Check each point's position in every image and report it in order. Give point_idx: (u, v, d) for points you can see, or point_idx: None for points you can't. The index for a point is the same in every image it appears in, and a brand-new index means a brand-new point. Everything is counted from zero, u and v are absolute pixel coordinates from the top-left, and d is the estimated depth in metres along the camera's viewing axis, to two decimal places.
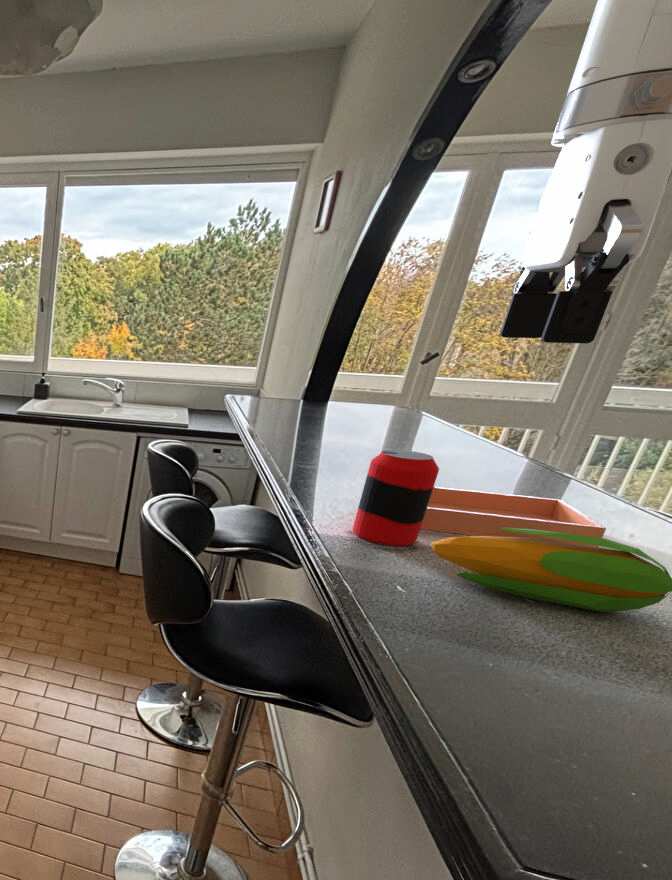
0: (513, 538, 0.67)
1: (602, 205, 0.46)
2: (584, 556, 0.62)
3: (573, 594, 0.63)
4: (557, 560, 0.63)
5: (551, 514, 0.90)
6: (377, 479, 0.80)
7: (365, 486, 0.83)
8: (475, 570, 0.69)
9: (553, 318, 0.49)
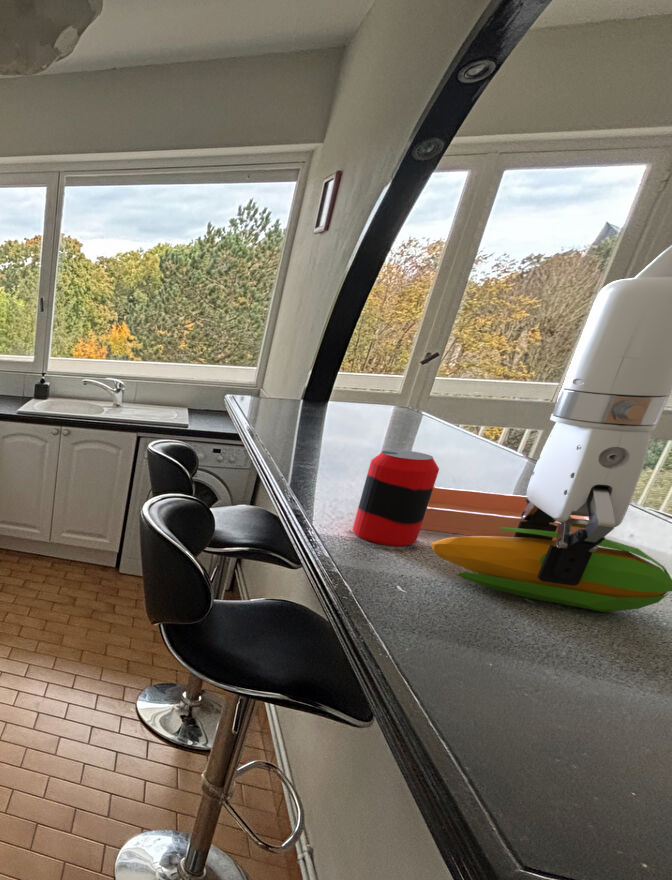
0: (513, 538, 0.68)
1: (590, 487, 0.58)
2: None
3: (572, 594, 0.63)
4: None
5: None
6: (377, 479, 0.80)
7: (365, 486, 0.83)
8: (475, 570, 0.69)
9: (547, 564, 0.62)
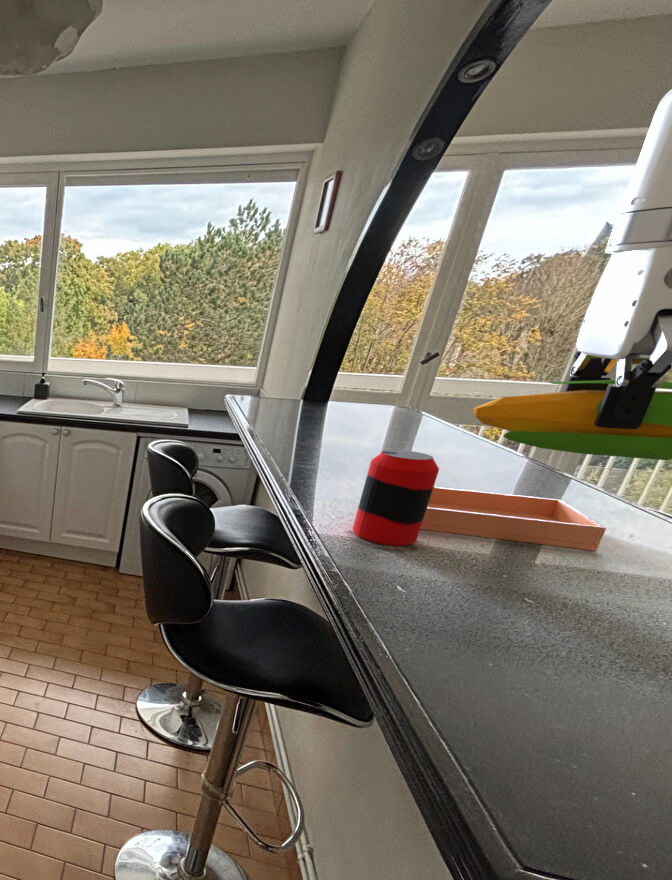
0: (563, 392, 0.63)
1: (654, 313, 0.54)
2: None
3: (632, 440, 0.59)
4: None
5: (551, 514, 0.90)
6: (377, 479, 0.80)
7: (365, 486, 0.83)
8: (522, 430, 0.65)
9: (605, 408, 0.58)
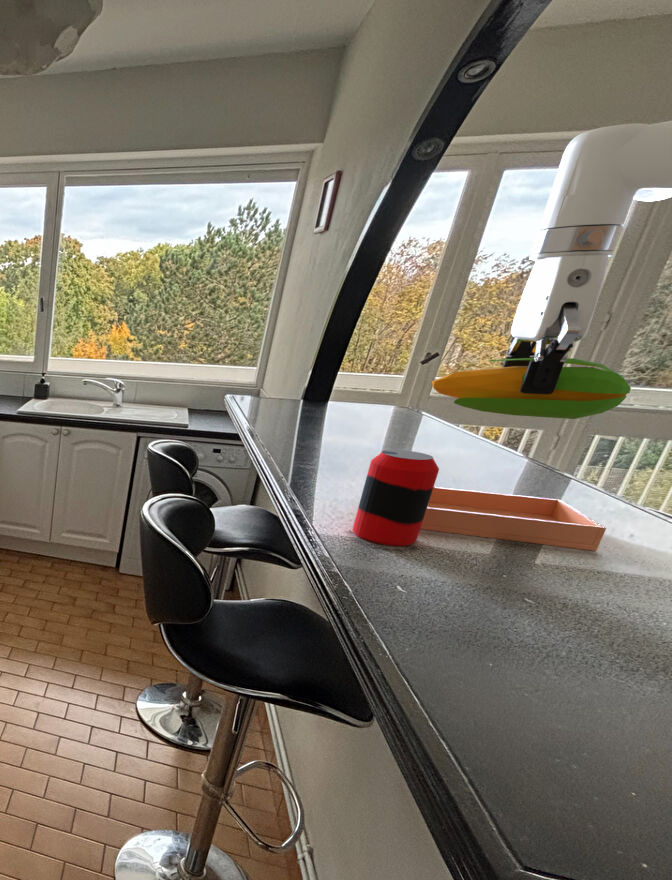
0: None
1: (560, 305, 0.72)
2: None
3: (548, 403, 0.77)
4: None
5: (551, 514, 0.90)
6: (377, 479, 0.80)
7: (365, 486, 0.83)
8: (468, 398, 0.83)
9: (527, 378, 0.76)
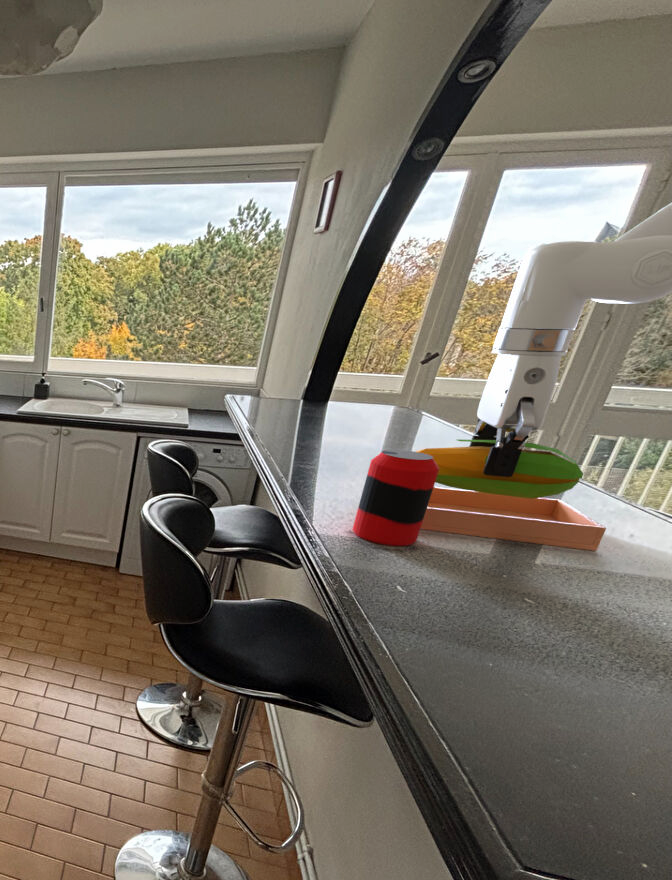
0: (466, 447, 0.88)
1: (518, 399, 0.79)
2: None
3: (508, 484, 0.83)
4: None
5: (551, 514, 0.90)
6: (377, 479, 0.80)
7: (365, 486, 0.83)
8: None
9: (489, 461, 0.83)
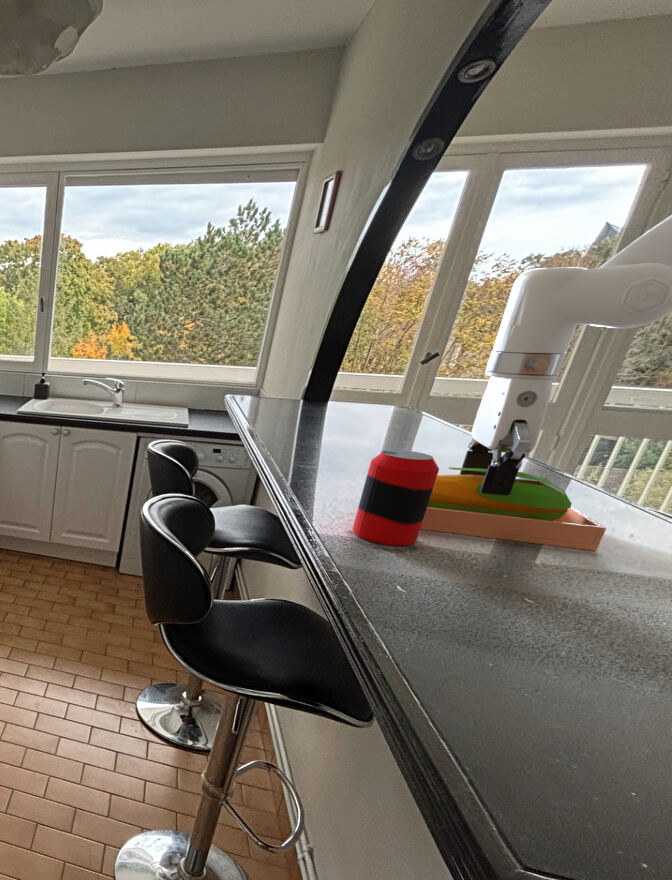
0: (457, 475, 0.90)
1: (511, 422, 0.80)
2: None
3: (499, 513, 0.85)
4: None
5: None
6: (377, 479, 0.80)
7: (365, 486, 0.83)
8: (429, 500, 0.91)
9: (486, 480, 0.83)
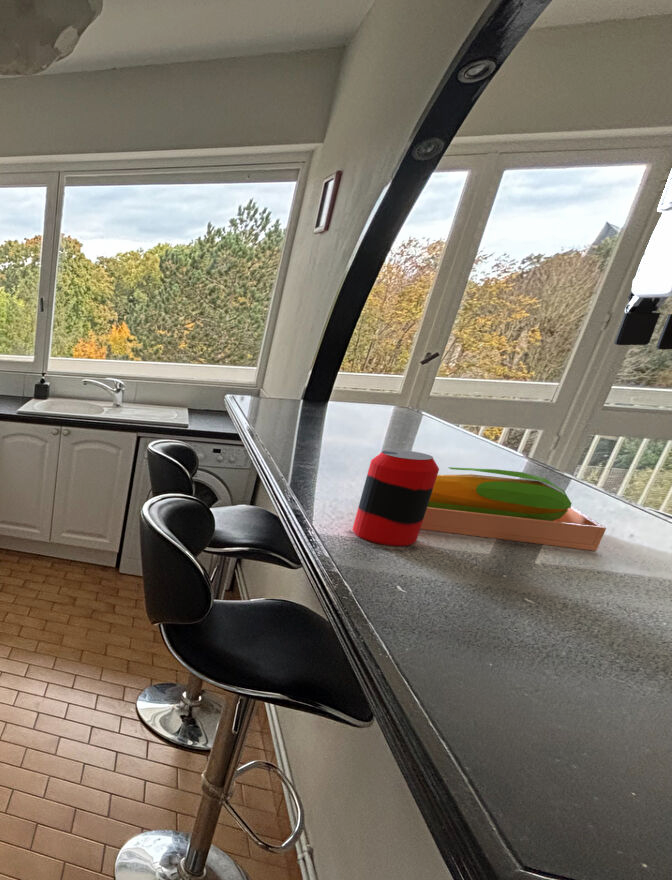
0: (457, 475, 0.90)
1: None
2: (506, 484, 0.84)
3: (499, 513, 0.85)
4: (487, 488, 0.85)
5: None
6: (377, 479, 0.80)
7: (365, 486, 0.83)
8: (429, 500, 0.91)
9: (666, 332, 0.70)
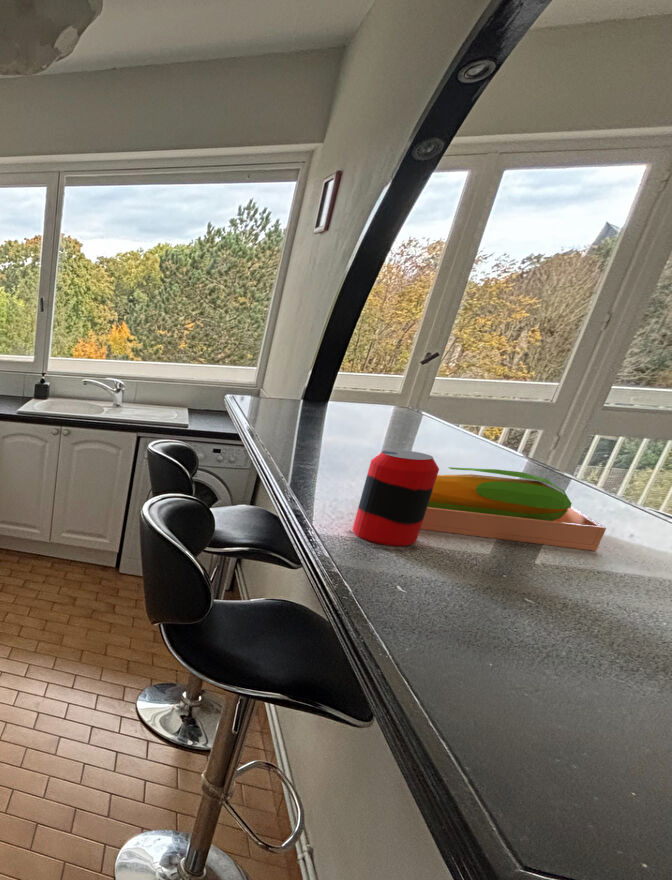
0: (457, 475, 0.90)
1: None
2: (506, 484, 0.84)
3: (499, 513, 0.85)
4: (487, 488, 0.85)
5: None
6: (377, 479, 0.80)
7: (365, 486, 0.83)
8: (429, 500, 0.91)
9: None
